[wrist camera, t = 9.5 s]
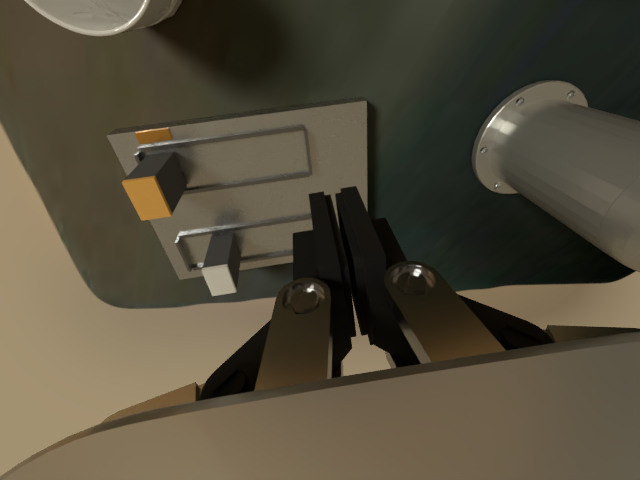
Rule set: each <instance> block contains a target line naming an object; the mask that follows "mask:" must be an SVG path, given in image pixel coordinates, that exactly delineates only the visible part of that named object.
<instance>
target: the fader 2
mask: <svg viewBox="0 0 640 480" xmlns="http://www.w3.org/2000/svg"><path fill="white" fill-rule="evenodd" d="M240 261H241V255H240V252H239V249H238V246H237V243H236V240H235V237H234V234H233V233H229V234H223V235H216V236H211V239H210V243H209V246H208V250H207V253H206V257H205V260H204V264H203V267H202V270H201V271H202V273H203V275H204V278H205V280H206V282H207V285H208V287H209V289H210V291H211V294H212V296H216V295H223V294H229V293H235V292H236V290H237V283H238V276H239V268H240Z"/></svg>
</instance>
